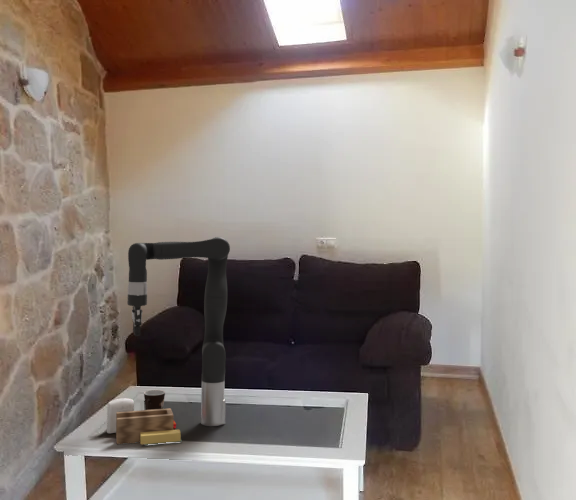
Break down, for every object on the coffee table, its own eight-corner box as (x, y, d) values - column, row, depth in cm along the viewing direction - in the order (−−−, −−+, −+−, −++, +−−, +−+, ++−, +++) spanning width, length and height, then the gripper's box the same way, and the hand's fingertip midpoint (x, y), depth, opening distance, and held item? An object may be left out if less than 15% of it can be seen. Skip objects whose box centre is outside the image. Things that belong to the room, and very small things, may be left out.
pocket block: (170, 431, 220) (170, 408, 220) (173, 439, 211) (173, 415, 211) (116, 436, 213) (116, 412, 213) (116, 444, 205) (117, 419, 205)
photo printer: (131, 427, 224) (132, 395, 224) (135, 430, 221) (135, 398, 220) (105, 431, 218) (105, 399, 218) (108, 434, 215) (108, 402, 215)
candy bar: (177, 430, 222) (177, 422, 222) (167, 431, 221) (167, 423, 221) (169, 418, 237) (169, 411, 237) (160, 419, 236) (160, 412, 236)
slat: (179, 437, 211) (179, 429, 211) (180, 441, 207) (180, 432, 207) (140, 440, 207) (140, 432, 207) (140, 444, 203) (140, 436, 203)
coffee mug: (155, 412, 244) (155, 388, 244) (169, 415, 239) (169, 392, 239) (133, 418, 235) (133, 394, 235) (147, 422, 230) (147, 398, 230)
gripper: (126, 291, 232) (125, 331, 232) (128, 295, 218) (127, 337, 218) (145, 291, 234) (144, 331, 234) (148, 294, 220) (147, 336, 221)
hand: (136, 334), depth 226 cm, fingers open, 8 cm apart
